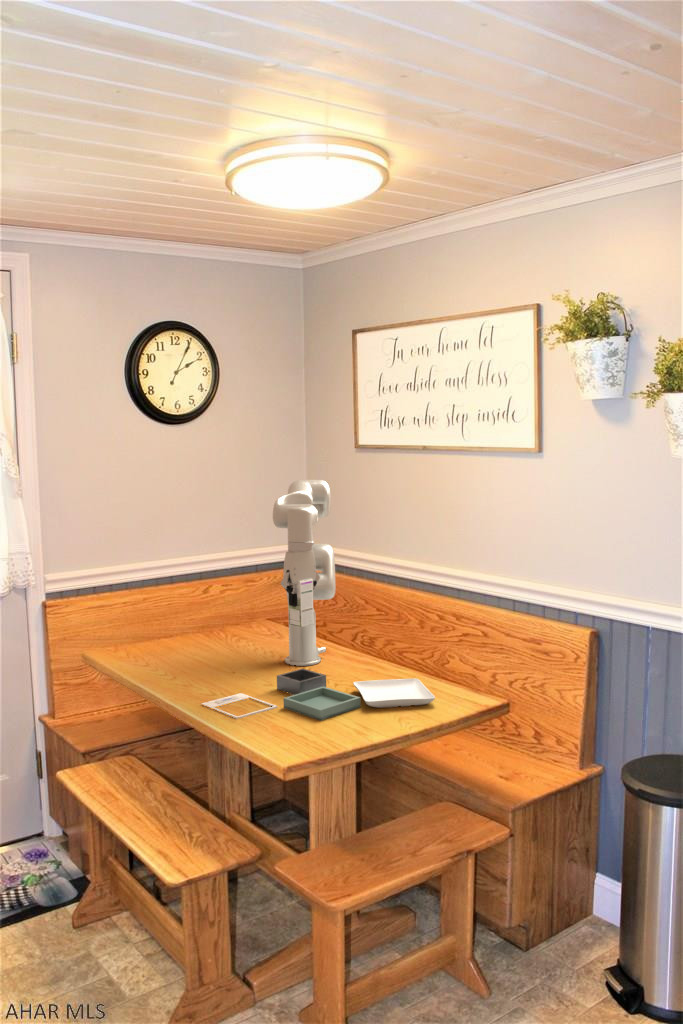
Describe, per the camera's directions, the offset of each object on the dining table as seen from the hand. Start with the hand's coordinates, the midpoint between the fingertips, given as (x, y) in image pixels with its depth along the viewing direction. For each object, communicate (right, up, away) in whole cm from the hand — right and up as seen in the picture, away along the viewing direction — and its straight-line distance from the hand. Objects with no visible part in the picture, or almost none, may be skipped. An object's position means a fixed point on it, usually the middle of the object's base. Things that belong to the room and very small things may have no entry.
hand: (300, 603), depth 267 cm
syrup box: (0, -7, +1) cm, 7 cm away
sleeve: (0, -27, +3) cm, 27 cm away
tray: (+7, -29, -15) cm, 33 cm away
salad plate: (+28, -29, -7) cm, 41 cm away
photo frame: (-18, -30, -13) cm, 37 cm away
